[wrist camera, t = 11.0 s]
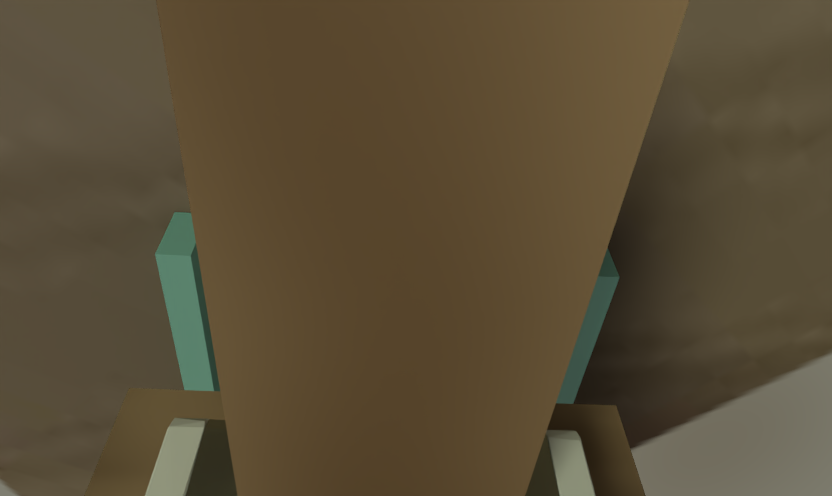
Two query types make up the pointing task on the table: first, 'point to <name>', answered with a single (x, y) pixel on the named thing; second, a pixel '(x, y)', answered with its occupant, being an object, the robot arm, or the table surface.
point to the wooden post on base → (399, 235)
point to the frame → (195, 335)
